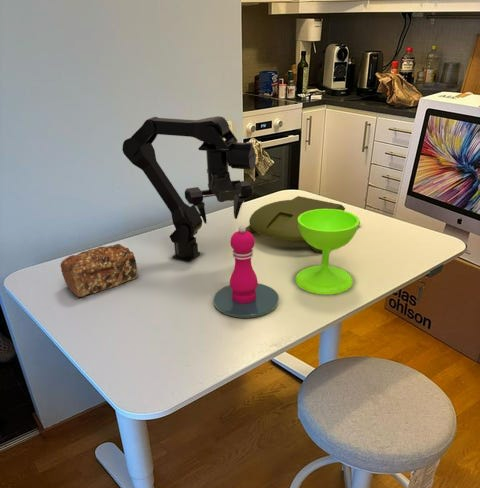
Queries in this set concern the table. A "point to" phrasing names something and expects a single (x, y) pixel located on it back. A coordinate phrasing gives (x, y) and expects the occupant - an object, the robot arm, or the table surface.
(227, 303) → the plate
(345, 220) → the wineglass
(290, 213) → the spaceship
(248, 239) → the pepper mill
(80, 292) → the bread
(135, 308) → the table surface
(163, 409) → the table surface
